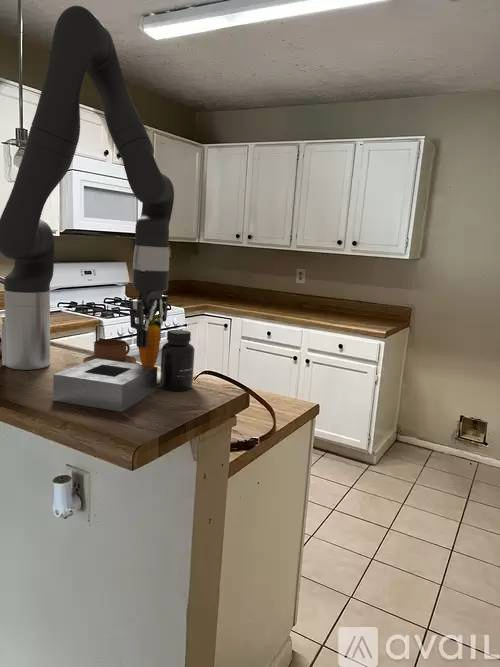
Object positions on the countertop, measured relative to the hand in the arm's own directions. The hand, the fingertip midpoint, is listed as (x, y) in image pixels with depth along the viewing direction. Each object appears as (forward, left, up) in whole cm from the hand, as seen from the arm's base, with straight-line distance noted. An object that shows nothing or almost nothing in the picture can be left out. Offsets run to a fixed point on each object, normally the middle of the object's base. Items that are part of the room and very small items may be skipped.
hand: (148, 344), depth 107 cm
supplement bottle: (+9, -4, -8) cm, 12 cm away
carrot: (0, 0, -7) cm, 7 cm away
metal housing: (-1, -15, -8) cm, 17 cm away
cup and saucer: (-12, +4, -8) cm, 15 cm away
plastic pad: (0, 0, -8) cm, 8 cm away
